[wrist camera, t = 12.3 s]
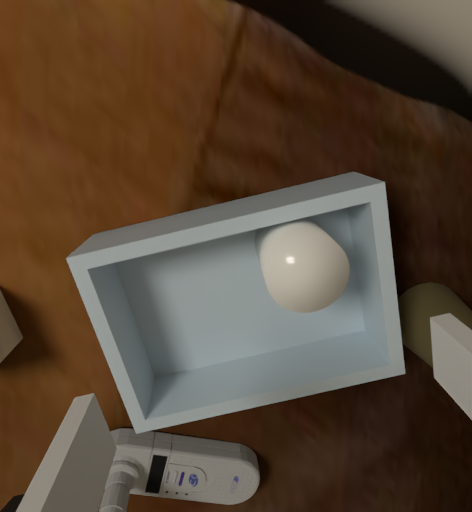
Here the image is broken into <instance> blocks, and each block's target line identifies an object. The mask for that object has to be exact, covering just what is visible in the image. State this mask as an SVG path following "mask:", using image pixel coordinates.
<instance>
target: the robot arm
mask: <svg viewBox="0 0 472 512" xmlns="http://www.w3.org/2000/svg"><path fill="white" fill-rule="evenodd" d="M430 327H431V341H432V355H433V369H434V378H435V379H436V380H437V381H438V383H439V384H440V385H441V386H442V387H443V388H444V389H445V390H446V392H447V393H448V394H449V395H450V396H451V397H452V398H453V399H454V401H455V402H456V403H457V404H458V405H459V406H460V407H461V408H462V410H463V411H464V412H465V413H466V414H467V415H468V416H469V417H470V419H471V420H472V330H471V329H470V328H468V327H467V326H466V325H465V324H463V323H462V322H461V321H459V320H458V319H457V318H456V317H454V316H453V315H452V314H450V313H447V314H443V315H439V316H434V317H430ZM116 449H117V448H116V445H115V443H114V440H113V438H112V435H111V433H110V431H109V428H108V426H107V423H106V421H105V418H104V416H103V414H102V411H101V409H100V406H99V404H98V401H97V399H96V396H95V394H94V393H93V394H89V395H84V396H80V397H75V398H74V400H73V402H72V404H71V406H70V408H69V410H68V412H67V414H66V416H65V418H64V420H63V422H62V424H61V425H60V427H59V429H58V431H57V433H56V435H55V437H54V439H53V441H52V443H51V445H50V447H49V449H48V451H47V453H46V454H45V456H44V458H43V460H42V462H41V464H40V466H39V468H38V470H37V472H36V474H35V476H34V478H33V480H32V481H31V483H30V485H29V487H28V489H27V491H26V493H25V494H23V495H18V496H14V497H13V498H12V499H11V500H10V501H9V502H8V503H7V505H6V506H5V507H4V508H3V509H2V510H1V511H0V512H98V509H99V505H100V502H101V499H102V495H103V492H104V489H105V486H106V482H107V479H108V476H109V472H110V469H111V466H112V463H113V459H114V456H115V453H116Z"/></svg>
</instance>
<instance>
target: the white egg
mask: <svg viewBox="0 0 472 512" xmlns="http://www.w3.org/2000/svg"><path fill="white" fill-rule="evenodd" d="M255 250H256V253H257V256H258V259H259V263H260V266H261V269H262V273H263V276H264V279H265V282H266V286H267V289H268V291H269V293H270V295H271V296H272V298H273V299H274V300H275V301H276V302H277V303H278V304H279V305H280V306H282V307H283V308H285V309H287V310H290V311H293V312H298V313H310V312H315V311H319V310H321V309H324V308H326V307H328V306H329V305H331V304H332V303H333V302H335V301H336V300H337V299H338V298H339V296H340V295H341V294H342V292H343V291H344V289H345V287H346V285H347V282H348V279H349V262H348V259H347V256H346V254H345V252H344V250H343V249H342V248H341V246H339V245H338V244H337V243H336V242H335V241H334V240H333V239H332V238H331V237H330V236H329V235H328V234H327V233H326V232H325V231H324V230H323V229H322V228H321V227H320V226H319V225H318V224H317V223H316V222H315V221H314V220H313V219H312V218H311V217H310V216H309V217H305V218H301V219H296V220H292V221H288V222H284V223H280V224H275V225H271V226H267V227H263V228H259V229H257V232H256V235H255Z"/></svg>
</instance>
